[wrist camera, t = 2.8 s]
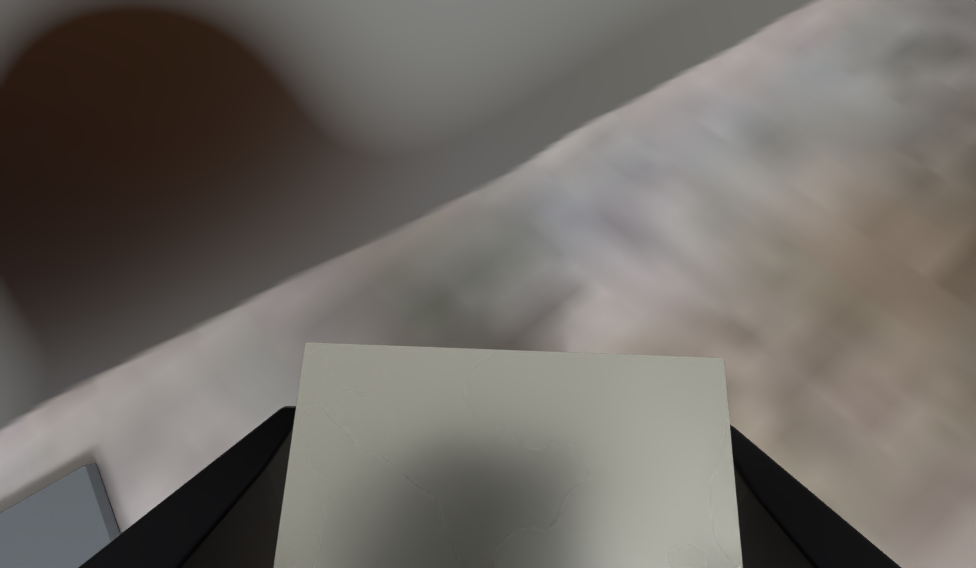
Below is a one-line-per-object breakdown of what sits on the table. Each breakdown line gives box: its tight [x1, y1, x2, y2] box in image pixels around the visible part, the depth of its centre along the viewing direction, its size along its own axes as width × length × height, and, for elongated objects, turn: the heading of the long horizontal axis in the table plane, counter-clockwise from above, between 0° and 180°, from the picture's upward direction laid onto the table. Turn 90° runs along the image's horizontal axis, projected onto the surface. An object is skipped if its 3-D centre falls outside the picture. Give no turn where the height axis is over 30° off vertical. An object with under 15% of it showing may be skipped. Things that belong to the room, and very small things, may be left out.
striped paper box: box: [274, 342, 743, 568], centre depth 10 cm, size 5×5×10 cm
